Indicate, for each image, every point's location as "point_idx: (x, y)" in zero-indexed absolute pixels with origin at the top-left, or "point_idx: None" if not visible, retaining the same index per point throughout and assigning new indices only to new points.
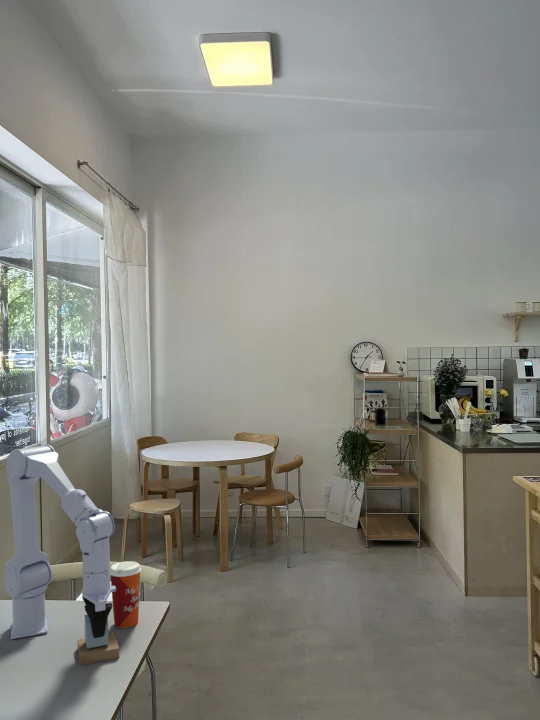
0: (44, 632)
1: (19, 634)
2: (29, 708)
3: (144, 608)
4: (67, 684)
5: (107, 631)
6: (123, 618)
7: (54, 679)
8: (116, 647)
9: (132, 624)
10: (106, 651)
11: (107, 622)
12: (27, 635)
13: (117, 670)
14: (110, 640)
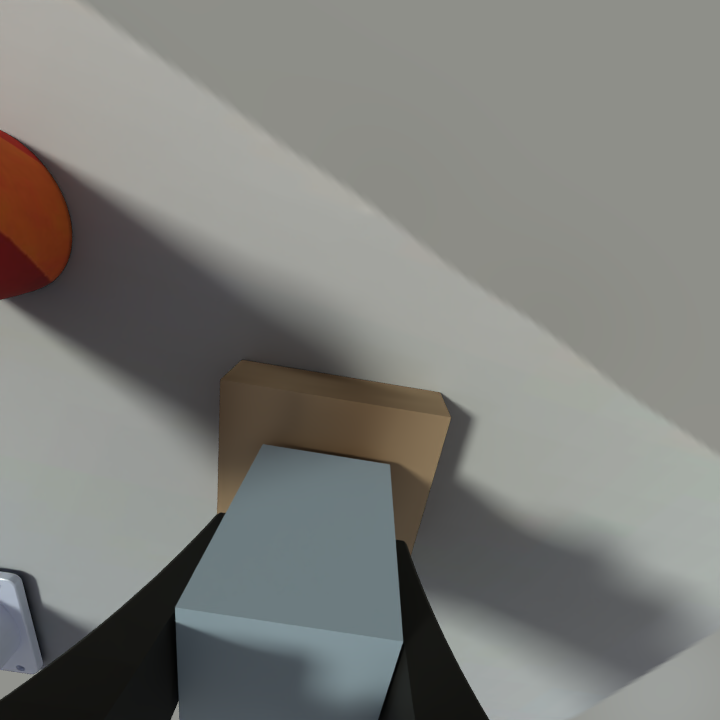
0: (18, 587)
1: (15, 653)
2: (574, 696)
3: None
4: (515, 601)
5: (393, 534)
6: (8, 260)
7: (445, 622)
8: (430, 426)
9: (49, 190)
10: (432, 476)
11: (400, 607)
12: (30, 633)
13: (559, 436)
14: (317, 428)
